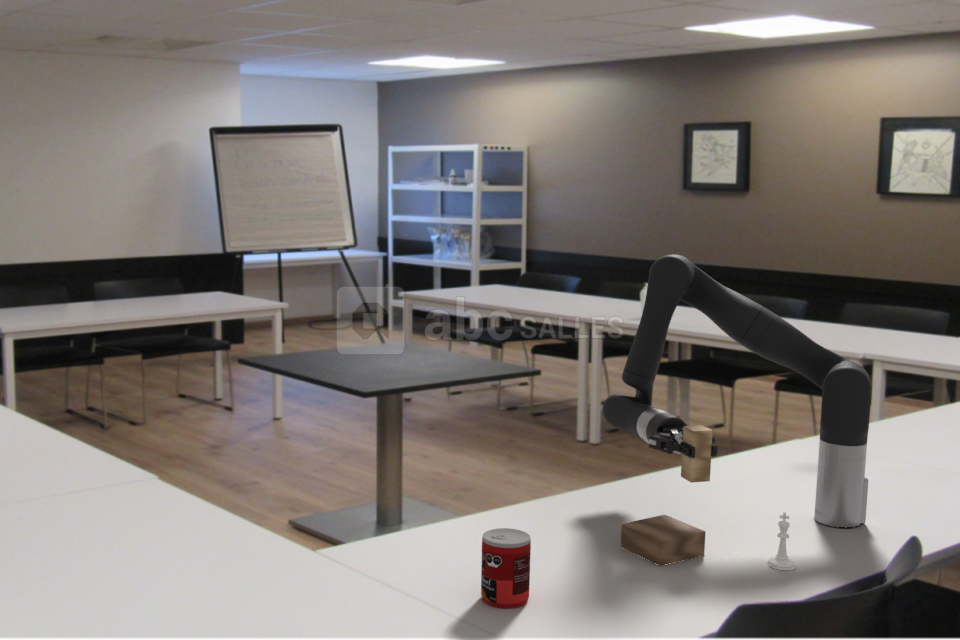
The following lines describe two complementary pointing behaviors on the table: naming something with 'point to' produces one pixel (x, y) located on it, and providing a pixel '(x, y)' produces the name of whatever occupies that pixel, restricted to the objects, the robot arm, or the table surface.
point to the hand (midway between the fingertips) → (704, 452)
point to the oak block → (697, 454)
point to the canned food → (505, 567)
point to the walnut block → (663, 539)
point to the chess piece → (782, 548)
